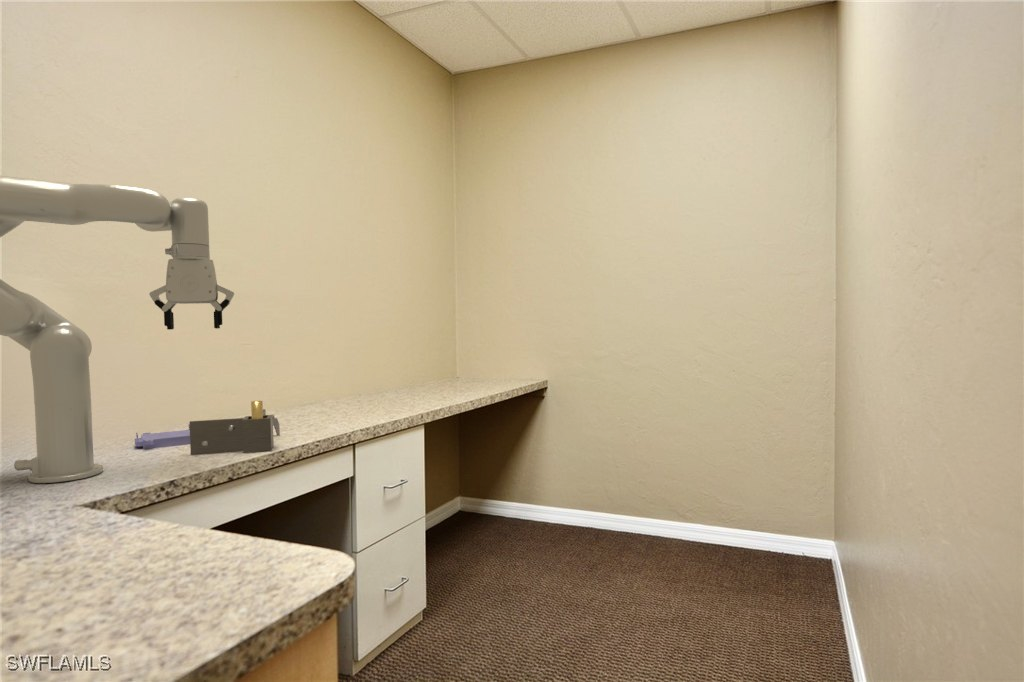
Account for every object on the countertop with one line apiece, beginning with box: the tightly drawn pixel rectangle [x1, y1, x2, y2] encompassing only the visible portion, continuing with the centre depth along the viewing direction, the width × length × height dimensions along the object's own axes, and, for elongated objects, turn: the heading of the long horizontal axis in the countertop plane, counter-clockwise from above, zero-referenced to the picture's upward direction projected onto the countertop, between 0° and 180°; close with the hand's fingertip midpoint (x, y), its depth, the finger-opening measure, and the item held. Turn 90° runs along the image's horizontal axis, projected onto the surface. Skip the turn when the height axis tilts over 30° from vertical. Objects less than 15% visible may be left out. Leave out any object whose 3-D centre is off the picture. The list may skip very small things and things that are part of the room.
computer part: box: [134, 424, 190, 450], centre depth 166 cm, size 30×4×15 cm
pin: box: [250, 400, 264, 419], centre depth 151 cm, size 3×3×12 cm
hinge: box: [189, 408, 275, 456], centre depth 155 cm, size 18×18×8 cm
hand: (194, 328), depth 139 cm, fingers open, 9 cm apart
